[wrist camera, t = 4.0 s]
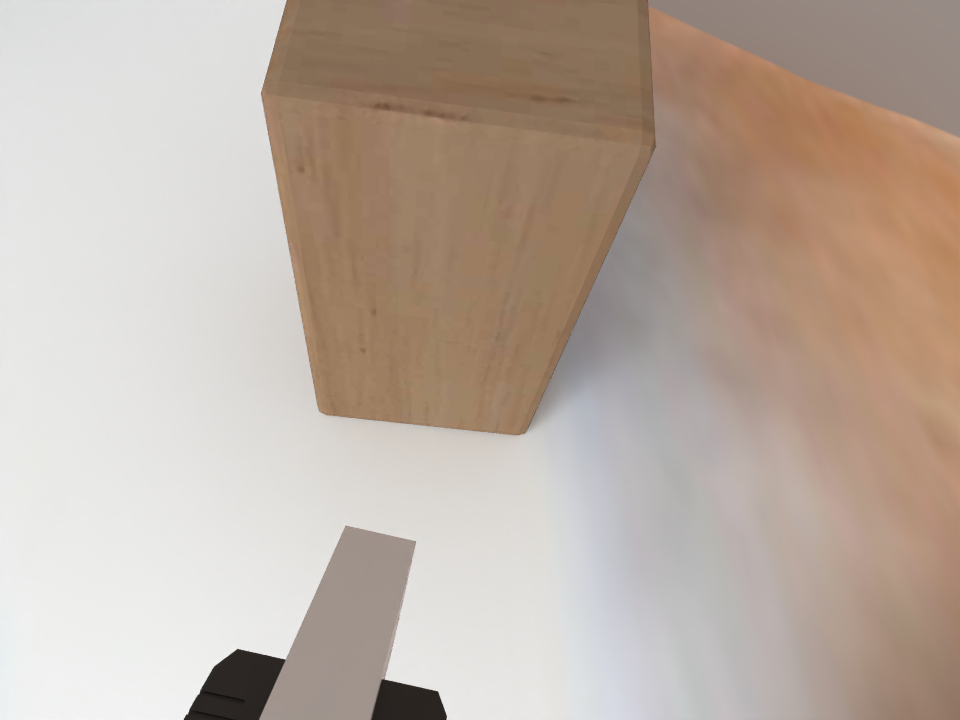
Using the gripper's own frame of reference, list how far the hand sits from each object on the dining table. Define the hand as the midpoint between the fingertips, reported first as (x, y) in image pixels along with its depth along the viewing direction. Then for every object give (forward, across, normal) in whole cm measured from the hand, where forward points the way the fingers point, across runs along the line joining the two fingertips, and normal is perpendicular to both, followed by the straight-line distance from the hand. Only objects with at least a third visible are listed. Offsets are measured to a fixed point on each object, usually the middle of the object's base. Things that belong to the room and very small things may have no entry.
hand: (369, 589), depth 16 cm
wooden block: (+23, -1, -1) cm, 23 cm away
